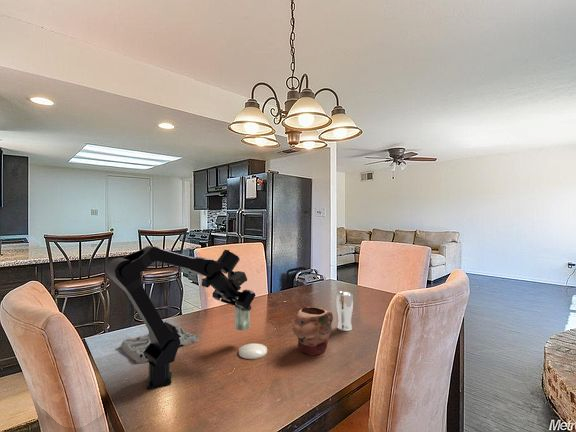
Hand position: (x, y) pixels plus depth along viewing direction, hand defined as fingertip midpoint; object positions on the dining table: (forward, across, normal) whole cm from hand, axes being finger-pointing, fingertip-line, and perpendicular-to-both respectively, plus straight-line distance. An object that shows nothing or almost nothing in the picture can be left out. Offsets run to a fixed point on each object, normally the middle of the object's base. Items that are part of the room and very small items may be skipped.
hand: (245, 307), depth 109 cm
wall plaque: (-5, +23, +25) cm, 34 cm away
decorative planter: (+20, -22, 0) cm, 30 cm away
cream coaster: (+7, -8, +12) cm, 16 cm away
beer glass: (+36, -22, -17) cm, 45 cm away
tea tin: (+4, 0, +6) cm, 7 cm away
